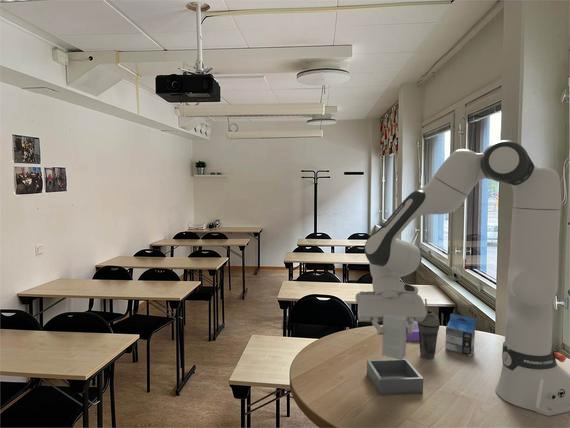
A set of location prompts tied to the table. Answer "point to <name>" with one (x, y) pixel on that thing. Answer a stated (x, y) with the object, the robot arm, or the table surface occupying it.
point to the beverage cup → (428, 334)
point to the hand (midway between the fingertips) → (395, 334)
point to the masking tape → (415, 332)
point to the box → (394, 377)
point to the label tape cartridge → (460, 335)
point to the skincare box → (394, 336)
